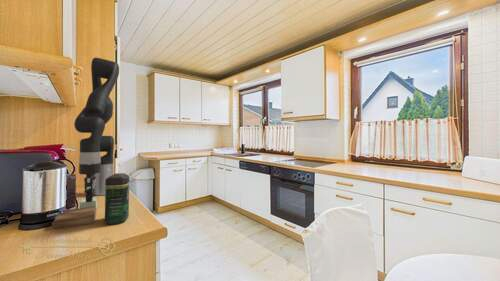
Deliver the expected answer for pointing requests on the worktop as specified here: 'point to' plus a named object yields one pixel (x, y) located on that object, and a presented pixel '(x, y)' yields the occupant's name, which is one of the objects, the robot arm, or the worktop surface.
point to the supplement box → (71, 191)
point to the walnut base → (75, 217)
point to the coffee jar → (116, 198)
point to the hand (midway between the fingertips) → (90, 199)
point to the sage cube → (88, 203)
